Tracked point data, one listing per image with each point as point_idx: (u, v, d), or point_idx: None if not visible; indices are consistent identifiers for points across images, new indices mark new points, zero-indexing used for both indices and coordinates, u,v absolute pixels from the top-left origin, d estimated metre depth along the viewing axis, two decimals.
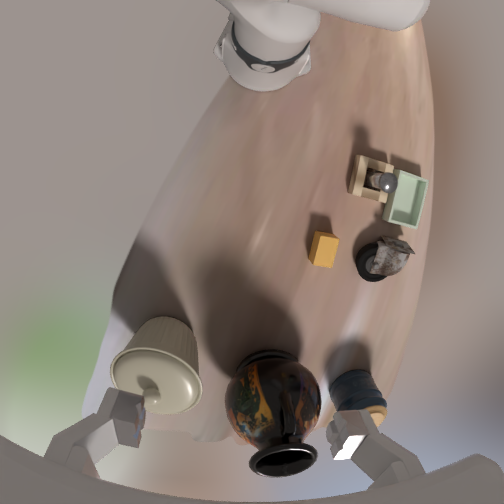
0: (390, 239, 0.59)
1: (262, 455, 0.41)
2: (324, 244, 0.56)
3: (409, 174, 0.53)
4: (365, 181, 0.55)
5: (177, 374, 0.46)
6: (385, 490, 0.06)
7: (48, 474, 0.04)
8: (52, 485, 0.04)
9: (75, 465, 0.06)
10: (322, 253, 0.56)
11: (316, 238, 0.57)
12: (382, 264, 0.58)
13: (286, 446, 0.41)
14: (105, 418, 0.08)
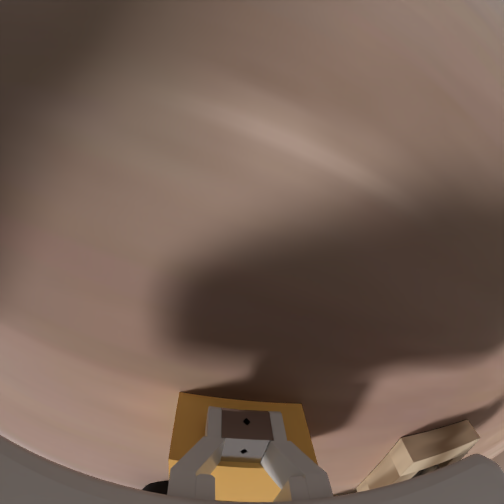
0: None
1: None
2: None
3: None
4: None
5: None
6: (385, 490, 0.06)
7: (48, 474, 0.04)
8: (52, 485, 0.04)
9: (206, 494, 0.06)
10: (231, 479, 0.09)
11: None
12: None
13: None
14: (218, 439, 0.08)
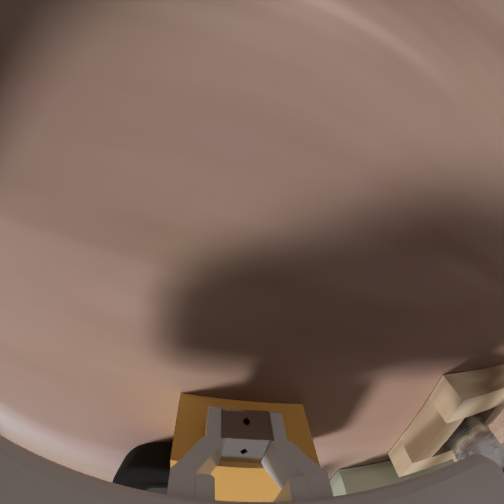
0: None
1: None
2: None
3: None
4: None
5: None
6: (385, 490, 0.06)
7: (48, 474, 0.04)
8: (52, 485, 0.04)
9: (205, 494, 0.06)
10: (232, 480, 0.09)
11: (286, 427, 0.11)
12: None
13: None
14: (218, 439, 0.08)
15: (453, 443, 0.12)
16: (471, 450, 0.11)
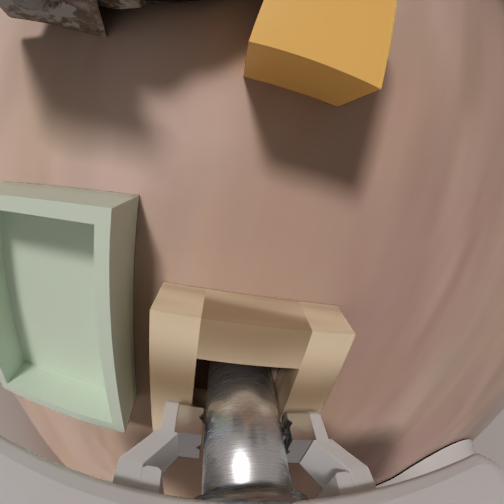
0: (64, 16, 0.07)
1: None
2: (357, 32, 0.06)
3: (79, 416, 0.11)
4: (269, 371, 0.13)
5: None
6: (385, 490, 0.06)
7: (48, 474, 0.04)
8: (52, 485, 0.04)
9: (150, 486, 0.06)
10: None
11: None
12: None
13: None
14: (171, 433, 0.08)
15: (240, 381, 0.11)
16: (264, 413, 0.10)
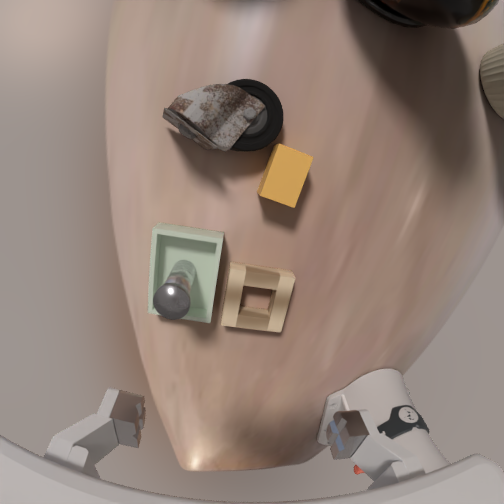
0: (194, 139, 0.31)
1: None
2: (290, 191, 0.31)
3: (190, 318, 0.36)
4: (193, 270, 0.35)
5: None
6: (385, 490, 0.06)
7: (48, 474, 0.04)
8: (52, 485, 0.04)
9: (75, 465, 0.06)
10: (294, 174, 0.31)
11: None
12: (236, 110, 0.28)
13: None
14: (105, 418, 0.08)
15: (179, 267, 0.33)
16: (184, 275, 0.32)
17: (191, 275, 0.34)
